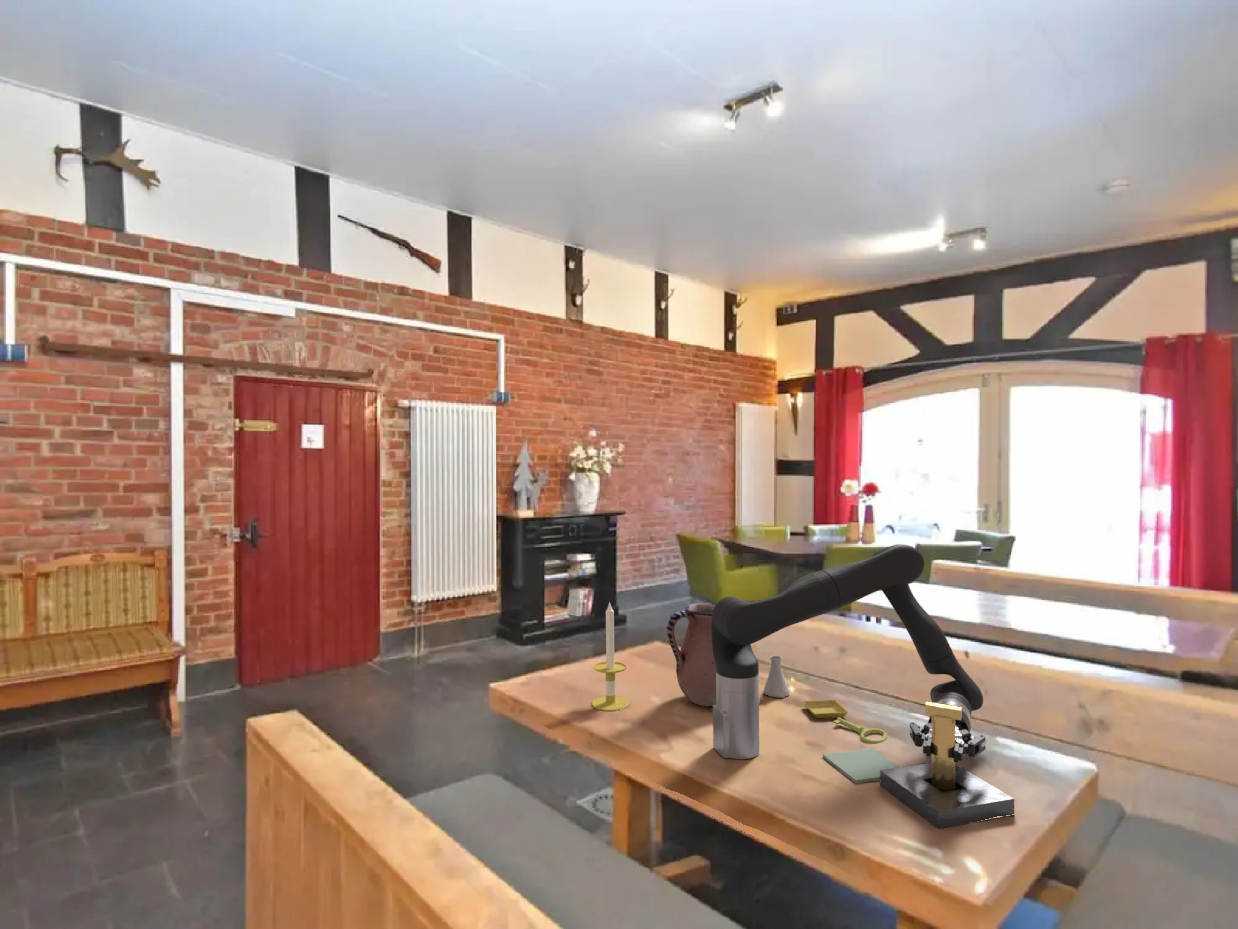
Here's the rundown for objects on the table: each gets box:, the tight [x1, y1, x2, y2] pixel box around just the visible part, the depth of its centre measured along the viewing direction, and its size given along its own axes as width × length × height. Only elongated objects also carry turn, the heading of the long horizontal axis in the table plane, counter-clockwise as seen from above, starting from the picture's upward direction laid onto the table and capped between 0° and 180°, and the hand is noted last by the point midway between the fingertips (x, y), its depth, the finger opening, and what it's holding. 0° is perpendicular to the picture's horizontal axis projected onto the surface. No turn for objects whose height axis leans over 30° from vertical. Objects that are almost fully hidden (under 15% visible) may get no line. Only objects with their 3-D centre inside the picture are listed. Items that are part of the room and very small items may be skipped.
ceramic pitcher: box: [666, 601, 716, 707], centre depth 177 cm, size 18×21×25 cm
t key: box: [924, 701, 962, 792], centre depth 126 cm, size 6×4×17 cm, turn 60°
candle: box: [591, 601, 631, 712], centre depth 177 cm, size 10×10×27 cm
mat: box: [822, 747, 900, 784], centre depth 141 cm, size 12×12×1 cm
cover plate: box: [879, 762, 1015, 830], centre depth 127 cm, size 16×16×3 cm
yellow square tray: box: [802, 699, 849, 719], centre depth 170 cm, size 9×9×2 cm
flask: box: [762, 655, 790, 699], centre depth 184 cm, size 7×7×10 cm
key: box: [832, 717, 888, 744], centre depth 157 cm, size 7×12×2 cm, turn 55°
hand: (942, 754), depth 124 cm, fingers closed on t key, 4 cm apart
